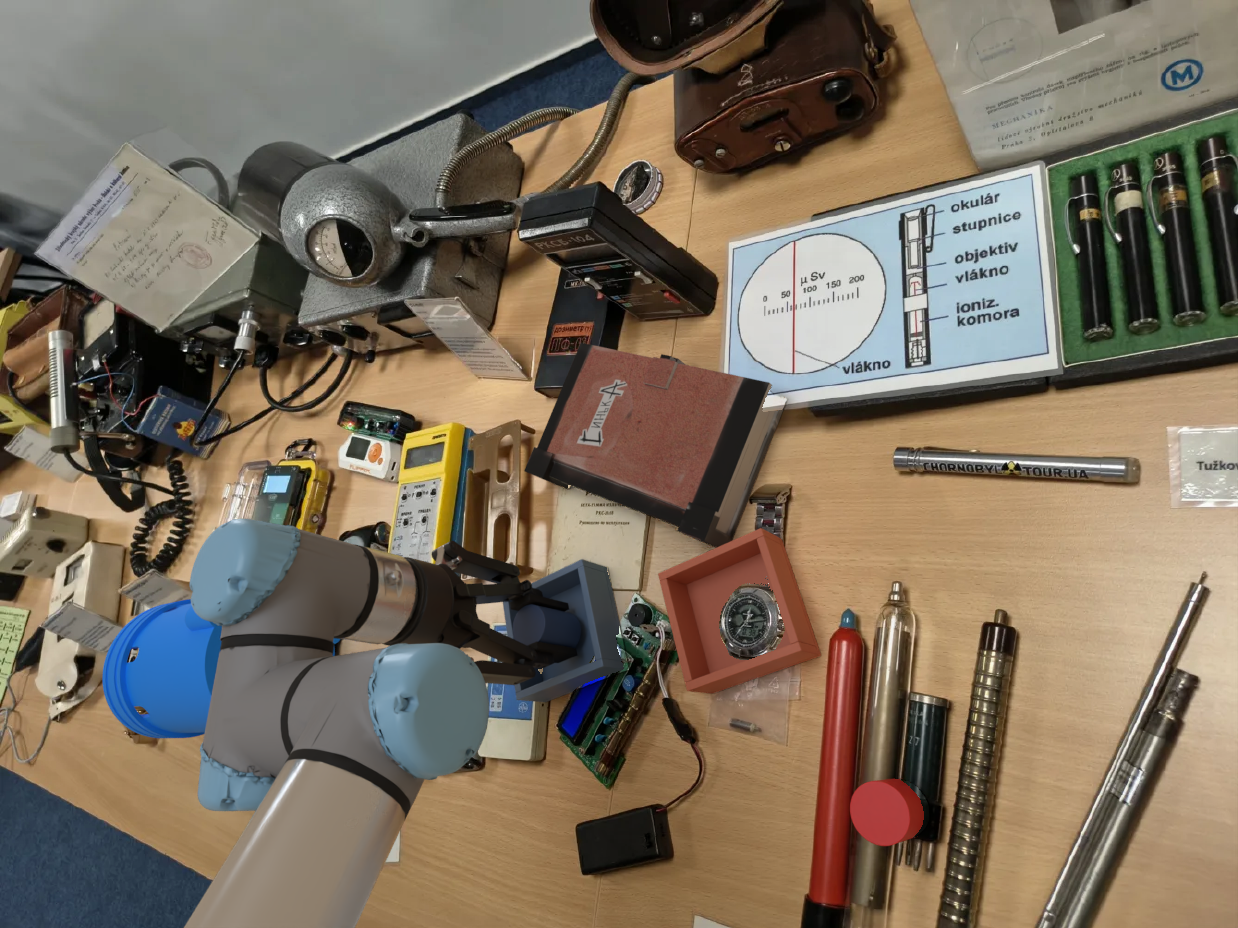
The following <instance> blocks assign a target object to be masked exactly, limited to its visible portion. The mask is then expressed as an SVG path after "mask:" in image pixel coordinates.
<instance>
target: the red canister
mask: <svg viewBox="0 0 1238 928" xmlns="http://www.w3.org/2000/svg"><path fill="white" fill-rule="evenodd" d="M900 779H901V778H899V779H895V778H887V779H879V780H871V781H870V780H869V781H867V782H865V783H862V784H861V785H859V786H858V787H857V788H856V789H855V790H854V792H853V794H852V795H851V799H850V804H849V812H850V818H851V822H852V823H853V824H852V825H853V826H854V828H855V829H856V831H857V832H858V834H859V835H860V836H861V837H862V838H863V839H865V840H866V841H868V842H869V843H871V844H873V845H875V846H881V847H890V846H894V845H896V844H900V843H902V842H905V841H908V840H911V839H914V838H915V837H914V836H915V835H916V834H917V833H918V832H919V830H920V829H921V827H922V825H923V820H924V811H923V806H922V804H921V800H920V798H919V797H918V796H917V794H916V793H915V792H914V791H913V790H912V789H911V788H910V786H908V785H907V784H906V783H904V782H903V781H901V780H900ZM913 837H914V838H913Z"/></svg>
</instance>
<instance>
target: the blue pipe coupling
mask: <svg viewBox="0 0 1238 928" xmlns="http://www.w3.org/2000/svg"><path fill="white" fill-rule="evenodd" d="M221 631H222V626H218V625H216V624H214V623H213V622H210V621H206V620H204V619H202V618H200V617H199V616H198V615H197V614H196V613H195V611H194V610H193V607H192V605H191V598H187V599H183V600H182V599H181V600H178V601H173V602H168V603H163V604H159V605H155V606H153V607H151V608H148V609H147V610H144V611H142V612H141V613H139V614H137V615H135V617H134V618H132V619H131V620H130V621H129V622H127V623H126V624H125V625H124V626H123V627H122V628H121V630H120V631H119V632H118V633H117V635H116V636H115V637H114V639H113V641H112V642H111V644H110V646H109V648H108V650H107V653H106V656H105V659H104V662H103V668H102V677H101V678H102V680H101V681H102V689H103V695H104V698H105V701H106V703H107V706H108V707H109V710H110V711H111V713H112V714H113V716H114V717H115V718H116V719H117V720H118V721H119V722H120V724H122V725H123V726H124V727H125V728H127V729H128V730H130V731H132V732H133V733H136V734H138V735H140V736H144V737H148V738H152V739H153V738H154V739H190V738H195V737H200V736H202V735H203V736H204V734H205V728H206V723H207V717H208V712H209V707H210V701H211V696H212V690H213V685H214V679H215V674H216V669H217V663H218V658H219V652H220V651H221V650H220V647H221V642H222V641H221V640H220V637H221ZM340 641H341V639H337V638H334V639H333V643H334V645H336V644H337V643H339V642H340ZM134 649H135V650H136V649H137V650H138V652H137V655H136V657H135V659H134V660H133V661H129V662H128V658H129V656H130V653H131V650H134ZM335 649H336V648H335V647H334V651H333V656H336V652H335V651H336V650H335ZM136 707H141V708H143V709H144V710H145V711H146V713H144V714H143V713H142V714H140V713H139V711H138V710H137V709H136Z"/></svg>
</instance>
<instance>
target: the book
mask: <svg viewBox="0 0 1238 928" xmlns="http://www.w3.org/2000/svg"><path fill="white" fill-rule="evenodd" d="M771 386H772V387H773V384H772V383H771V382H769V381H764V380H760V379H759V380H758V379H755V378H750V377H745V376H740V375H735V374H731V373H726V372H721V371H717V370H711V369H707V368H703V367H698V366H694V365H688V364H686V363H684V362H683V361H682V360H681V359H680V358H677V357H673V356H671V355H668V354H663V353H661V354H660V357H656V356H653V357H650V356H646V355H641V354H637V353H631V352H627V351H622V350H618V349H613V348H609V347H608V348H607V347H604V346H599V345H594V344H589V343H584V342H580V343H579V345H578V348H577V351H576V353H575V356H574V357H573V360H572V362H571V365H570V368H569V370H568V372H567V375H566V377H565V380H564V381H563V385H562V387H561V389H560V391H559V394H558V396H557V399H556V400H555V401H556V402H555V403H554V406H553V408H552V411H551V413H550V415H549V417H548V420H547V422H546V425H545V428H544V430H543V432H542V435H541V437H540V440H539V441H538V444H537V447H536V446H533V448H532V451H531V453H530V456H529V459H528V461H527V463H526V465H525V468H524V470H523V471H524V472H525V473H527V474H530V475H532V476H535V477H537V478H538V479H541V480H544V481H546V482H548V483H550V484H554V485H555V486H559V487H561V488H563V487H564V488H563V489H566V490H568V489H567V488H568V485H571V487H573V486H574V488H576V489H579V490H581V489H582V490H581V491H584V492H586V491H587V492H586V493H589V494H592V495H594V496H597V497H599V496H600V498H602V499H605V500H607V499H608V501H610V502H612V501H613V502H612V503H615V504H617V505H620V504H621V506H623V507H625V506H626V508H628V509H631V510H634V511H636V512H638V511H639V513H640V514H641V513H642V514H644V515H645V516H649V517H651V518H654V519H657V520H659V521H661V522H665V523H668V524H670V525H672V526H674V527H678V529H677V532H679V533H681V534H683V535H686V536H688V537H690V538H691V539H694V540H697V541H699V542H702V543H705V544H707V545H709V546H712V547H714V548H717V547H719V546H722V545H724V544H726V543H728V542H731V541H733V540H734V538H735V534H736V533H737V529H738V528H739V524H740V522H741V519H742V517H743V514H744V512H745V509H746V507H747V504H748V502H749V499H750V496H751V494H752V491H753V489H754V486H755V484H756V481H757V478H758V476H759V474H760V471H761V468H762V466H763V463H764V462H765V461H764V460H765V458H766V456H767V454H768V453H767V452H768V450H769V449H770V445H771V443H772V440H773V438H774V435H775V432H776V430H777V428H778V425H779V422H780V420H781V417H782V414H783V412H784V410H778V411H768V412H763V411H762V410H763V408H762V407H763V404H764V402H765V398H766V397H767V394H768V392H769V390H770V389H771V390H772V387H771ZM771 390H770V391H771Z"/></svg>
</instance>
